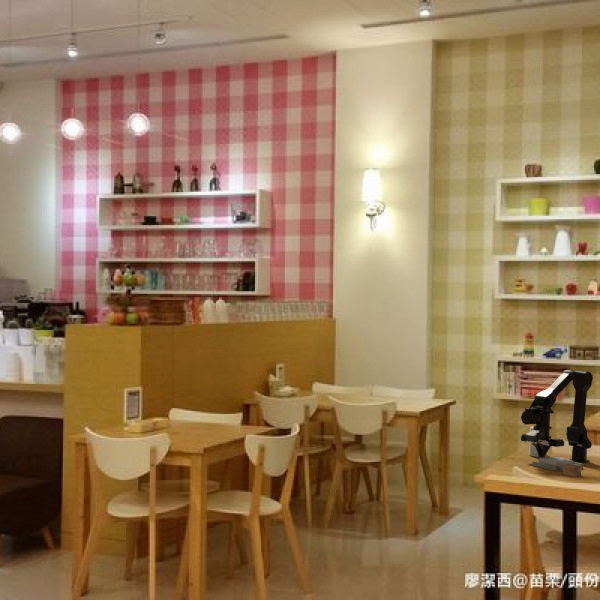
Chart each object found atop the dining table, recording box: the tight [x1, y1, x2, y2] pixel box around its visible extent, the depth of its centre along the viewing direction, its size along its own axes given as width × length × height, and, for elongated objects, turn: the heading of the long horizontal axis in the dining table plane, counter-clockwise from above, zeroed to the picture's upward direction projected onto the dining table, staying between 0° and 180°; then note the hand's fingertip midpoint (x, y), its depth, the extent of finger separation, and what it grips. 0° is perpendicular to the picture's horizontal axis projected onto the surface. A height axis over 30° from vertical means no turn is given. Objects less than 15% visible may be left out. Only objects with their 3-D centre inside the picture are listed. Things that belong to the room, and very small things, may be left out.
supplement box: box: [528, 426, 547, 458], centre depth 410 cm, size 7×7×13 cm
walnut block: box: [562, 464, 582, 477], centre depth 364 cm, size 5×5×4 cm
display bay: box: [531, 460, 584, 473], centre depth 381 cm, size 16×13×2 cm
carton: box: [538, 456, 574, 466], centre depth 379 cm, size 10×9×4 cm
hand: (541, 460), depth 387 cm, fingers closed
